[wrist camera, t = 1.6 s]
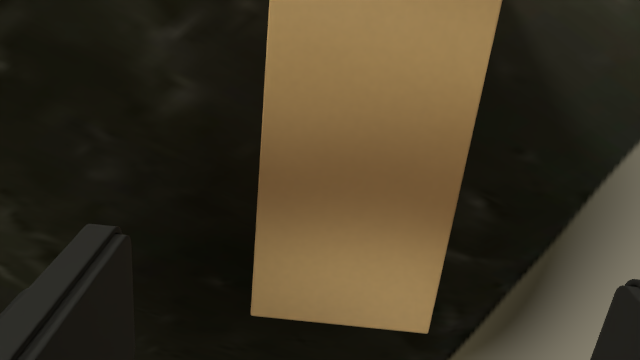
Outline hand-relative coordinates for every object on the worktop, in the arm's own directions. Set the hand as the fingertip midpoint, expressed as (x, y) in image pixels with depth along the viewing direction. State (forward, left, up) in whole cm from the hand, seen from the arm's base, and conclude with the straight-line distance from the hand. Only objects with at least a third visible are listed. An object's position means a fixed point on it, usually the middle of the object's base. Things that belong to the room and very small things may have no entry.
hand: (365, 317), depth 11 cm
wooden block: (0, 0, -11) cm, 11 cm away
